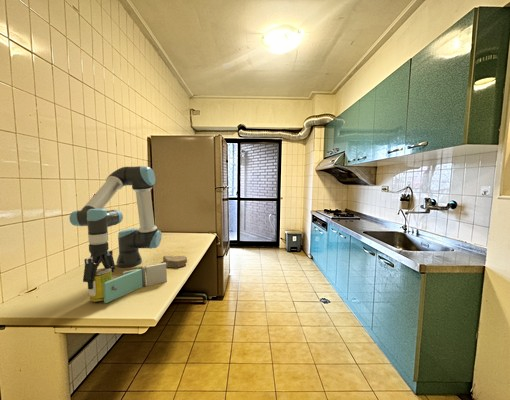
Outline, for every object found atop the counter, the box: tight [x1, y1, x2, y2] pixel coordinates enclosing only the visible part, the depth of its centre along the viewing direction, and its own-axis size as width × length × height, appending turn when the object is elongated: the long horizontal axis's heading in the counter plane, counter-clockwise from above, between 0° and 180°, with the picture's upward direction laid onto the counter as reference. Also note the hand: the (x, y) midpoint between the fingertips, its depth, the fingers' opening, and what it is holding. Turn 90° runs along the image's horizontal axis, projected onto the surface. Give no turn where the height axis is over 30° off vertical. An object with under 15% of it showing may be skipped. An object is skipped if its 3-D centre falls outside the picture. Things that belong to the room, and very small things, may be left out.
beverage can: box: [89, 267, 113, 303], centre depth 112 cm, size 9×9×12 cm
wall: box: [122, 262, 168, 288], centre depth 128 cm, size 3×20×10 cm, turn 126°
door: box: [103, 268, 143, 304], centre depth 116 cm, size 3×19×9 cm, turn 154°
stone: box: [162, 255, 188, 268], centre depth 161 cm, size 17×15×4 cm
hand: (101, 290), depth 112 cm, fingers closed on beverage can, 9 cm apart
